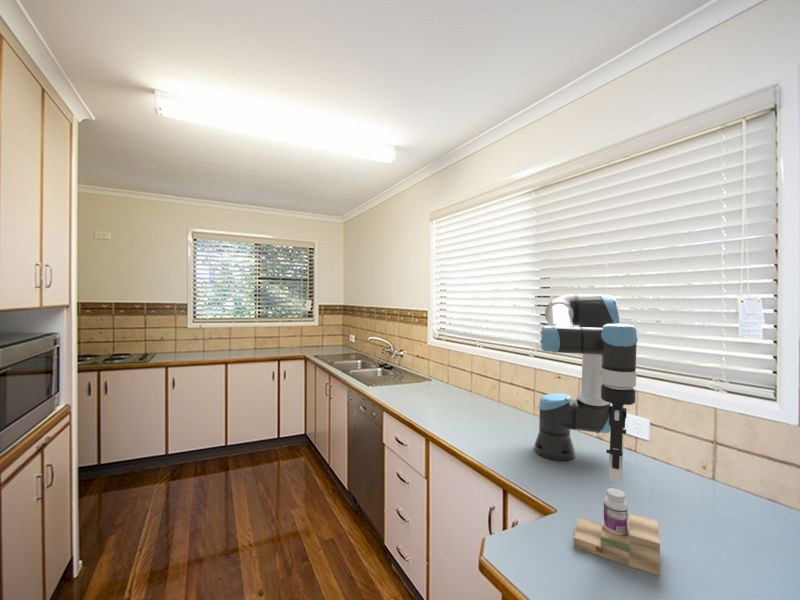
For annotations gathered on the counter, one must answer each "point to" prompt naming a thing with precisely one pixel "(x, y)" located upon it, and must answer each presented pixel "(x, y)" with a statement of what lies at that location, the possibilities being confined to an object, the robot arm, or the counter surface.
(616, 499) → the pill bottle
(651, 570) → the stepped stand
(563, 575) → the counter surface
